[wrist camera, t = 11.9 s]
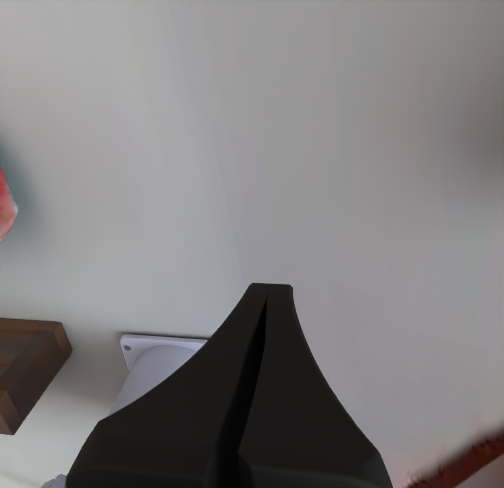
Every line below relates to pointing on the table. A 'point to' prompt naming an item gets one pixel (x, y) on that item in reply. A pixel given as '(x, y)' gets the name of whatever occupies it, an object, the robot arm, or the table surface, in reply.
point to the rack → (27, 366)
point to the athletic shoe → (6, 207)
